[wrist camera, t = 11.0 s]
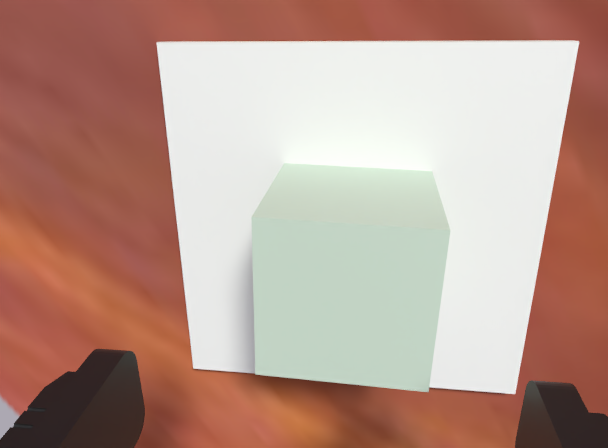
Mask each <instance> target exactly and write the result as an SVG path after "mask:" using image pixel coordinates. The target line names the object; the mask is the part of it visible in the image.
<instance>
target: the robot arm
mask: <svg viewBox="0 0 608 448" xmlns="http://www.w3.org/2000/svg"><path fill="white" fill-rule="evenodd" d="M144 416H145V408H144V401H143V395H142V389H141V383H140V377H139V371H138V365H137V360H136V356H135V354H134V353H133V352H132V351H123V350H109V349H96V350H94V351H93V352H92V353H91V354H90V355H89V356H88V357H87V359H86V360H85V361H84V362H83V364H82V365H81V366H80V367H79V369H78V370H77V371H76V372H69V371H68V372H66V373H65V374H64V375H62V376H61V377H59V378H58V379H56V380H55V381H53V382H52V383H50V384H49V385H47V386H46V387H45V388H44V389H43V390H42V391H41V392H40V393H39V395H38V396H37V397H36V398H35V399H34V400H33V402H32V403H31V404H30V405H29V406H28V410H27V411H24V412H23V413H22V415H21V416H20V417H19V418H18V419H17V421H16V422H15V423H14V427H13V428H10V429H9V430H8V431H7V432H6V433H5V435H4V436H3V437H2V438H1V440H0V448H134V447H135V445H136V443H137V441H138V439H139V437H140V434H141V431H142V428H143V423H144ZM515 448H608V417H607V416H606V415H605V414H600V413H589V412H588V410H587V408H586V407H585V405H584V403H583V401H582V399H581V397H580V395H579V393H578V391H577V389H576V388H575V386H574V385H573V384H571V383H559V382H545V381H529V382H528V384H527V386H526V390H525V395H524V400H523V406H522V411H521V416H520V421H519V426H518V431H517V436H516V443H515Z"/></svg>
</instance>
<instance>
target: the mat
mask: <svg viewBox="0 0 608 448" xmlns="http://www.w3.org/2000/svg"><path fill="white" fill-rule="evenodd" d="M578 45H579V41H574V40H514V41H179V42H157V51H158V60H159V69H160V77H161V86H162V95H163V104H164V113H165V122H166V130H167V139H168V148H169V157H170V166H171V175H172V183H173V192H174V201H175V210H176V219H177V228H178V236H179V245H180V254H181V263H182V272H183V281H184V289H185V298H186V307H187V316H188V325H189V334H190V342H191V351H192V360H193V369H205V370H218V371H230V372H243V373H255V339H254V299H253V260H252V220H251V217H252V215H253V214H254V212H255V210H256V209H257V207H258V205H259V204H260V202H261V201H262V199H263V197H264V196H265V194H266V192H267V191H268V189H269V187H270V186H271V184H272V182H273V181H274V179H275V177H276V176H277V174H278V172H279V171H280V169H281V168H282V166H283V164H284V163H290V164H308V165H327V166H346V167H365V168H383V169H402V170H421V171H432V172H433V176H434V179H435V182H436V185H437V188H438V192H439V195H440V198H441V201H442V205H443V208H444V211H445V214H446V217H447V221H448V224H449V227H450V238H449V245H448V252H447V260H446V267H445V274H444V282H443V289H442V296H441V304H440V311H439V319H438V326H437V333H436V341H435V348H434V355H433V363H432V370H431V377H430V385H429V387H432V388H444V389H457V390H469V391H482V392H495V393H507V394H515V392H516V387H517V381H518V376H519V370H520V365H521V359H522V354H523V348H524V343H525V337H526V332H527V326H528V321H529V315H530V310H531V304H532V299H533V293H534V288H535V282H536V277H537V271H538V266H539V260H540V255H541V249H542V244H543V238H544V233H545V227H546V222H547V216H548V211H549V205H550V200H551V194H552V189H553V183H554V178H555V172H556V167H557V161H558V156H559V150H560V145H561V139H562V134H563V128H564V123H565V117H566V111H567V106H568V100H569V95H570V89H571V84H572V78H573V73H574V67H575V62H576V56H577V51H578Z"/></svg>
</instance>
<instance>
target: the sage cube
mask: <svg viewBox="0 0 608 448" xmlns="http://www.w3.org/2000/svg"><path fill="white" fill-rule="evenodd" d="M251 220H252V260H253V299H254V339H255V375H265V376H275V377H285V378H295V379H305V380H314V381H324V382H334V383H344V384H354V385H363V386H373V387H383V388H393V389H403V390H412V391H422V392H429V385H430V377H431V370H432V363H433V355H434V348H435V341H436V333H437V326H438V319H439V311H440V304H441V296H442V289H443V282H444V274H445V267H446V260H447V252H448V245H449V238H450V227H449V224H448V221H447V217H446V214H445V211H444V208H443V205H442V201H441V198H440V195H439V192H438V188H437V185H436V182H435V179H434V176H433V172H432V171H421V170H402V169H383V168H365V167H346V166H327V165H308V164H290V163H284V164H283V166H282V168H281V169H280V171H279V172H278V174H277V176H276V177H275V179H274V181H273V182H272V184H271V186H270V187H269V189H268V191H267V192H266V194H265V196H264V197H263V199H262V201H261V202H260V204H259V205H258V207H257V209H256V210H255V212H254V214H253V215H252V217H251Z"/></svg>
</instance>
